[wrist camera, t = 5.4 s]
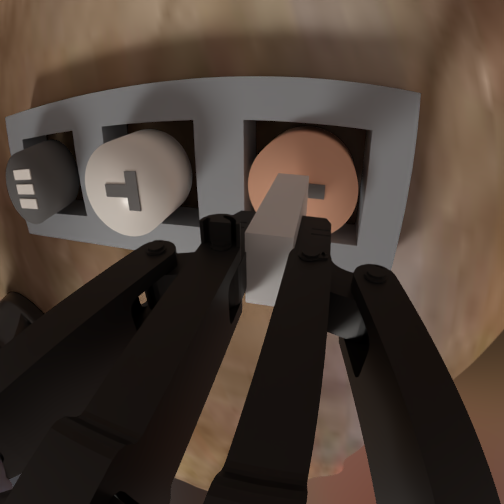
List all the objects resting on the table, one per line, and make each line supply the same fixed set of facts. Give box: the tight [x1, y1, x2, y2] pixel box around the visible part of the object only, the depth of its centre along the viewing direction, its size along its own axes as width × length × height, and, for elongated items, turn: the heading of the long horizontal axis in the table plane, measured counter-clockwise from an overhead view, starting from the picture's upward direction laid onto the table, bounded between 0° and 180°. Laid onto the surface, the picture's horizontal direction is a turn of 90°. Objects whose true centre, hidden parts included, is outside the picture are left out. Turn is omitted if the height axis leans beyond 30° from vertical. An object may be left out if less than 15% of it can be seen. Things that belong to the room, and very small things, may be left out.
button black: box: [6, 139, 80, 224], centre depth 21 cm, size 6×6×4 cm
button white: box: [85, 129, 192, 236], centre depth 19 cm, size 6×6×4 cm
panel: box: [5, 76, 421, 273], centre depth 21 cm, size 32×12×3 cm, turn 90°
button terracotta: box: [248, 126, 358, 233], centre depth 18 cm, size 6×6×4 cm
